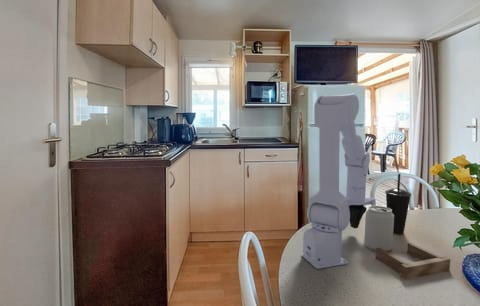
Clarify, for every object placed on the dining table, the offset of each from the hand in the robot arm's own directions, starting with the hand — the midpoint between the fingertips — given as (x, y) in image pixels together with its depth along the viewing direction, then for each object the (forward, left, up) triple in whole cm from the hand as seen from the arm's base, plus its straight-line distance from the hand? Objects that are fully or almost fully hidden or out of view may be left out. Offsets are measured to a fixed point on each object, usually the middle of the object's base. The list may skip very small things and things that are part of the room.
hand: (354, 227), depth 93 cm
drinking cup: (+15, -2, -3) cm, 15 cm away
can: (0, -10, -3) cm, 11 cm away
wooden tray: (0, -20, -2) cm, 21 cm away
